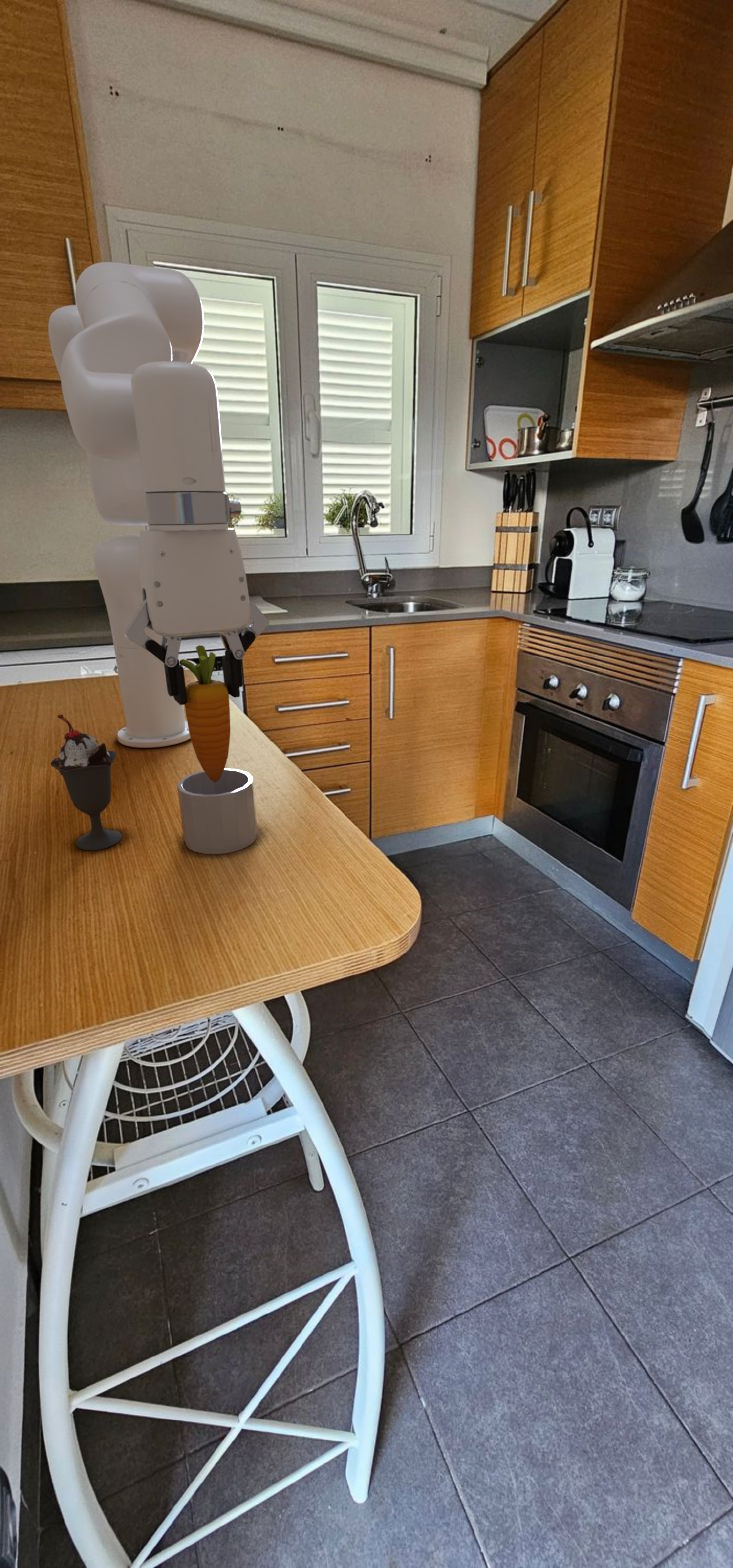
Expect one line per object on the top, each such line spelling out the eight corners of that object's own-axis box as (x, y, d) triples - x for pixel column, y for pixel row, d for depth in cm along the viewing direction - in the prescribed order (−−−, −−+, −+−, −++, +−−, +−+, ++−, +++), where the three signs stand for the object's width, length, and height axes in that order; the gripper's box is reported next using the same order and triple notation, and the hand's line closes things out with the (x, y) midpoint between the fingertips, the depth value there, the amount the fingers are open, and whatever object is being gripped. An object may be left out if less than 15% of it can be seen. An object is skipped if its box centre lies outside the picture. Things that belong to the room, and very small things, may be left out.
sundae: (66, 834, 79) (42, 711, 74) (126, 824, 82) (107, 703, 76) (68, 859, 74) (41, 727, 68) (132, 847, 76) (111, 719, 71)
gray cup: (177, 831, 80) (169, 776, 77) (243, 817, 83) (239, 763, 81) (195, 861, 73) (188, 801, 70) (267, 843, 77) (263, 786, 74)
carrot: (227, 792, 73) (214, 652, 67) (185, 788, 74) (168, 651, 68) (244, 775, 77) (233, 643, 72) (204, 772, 78) (189, 642, 73)
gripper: (258, 512, 72) (269, 681, 79) (88, 515, 64) (117, 701, 71) (285, 512, 66) (294, 695, 73) (100, 515, 58) (131, 718, 65)
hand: (206, 696), depth 72 cm, fingers closed on carrot, 5 cm apart
